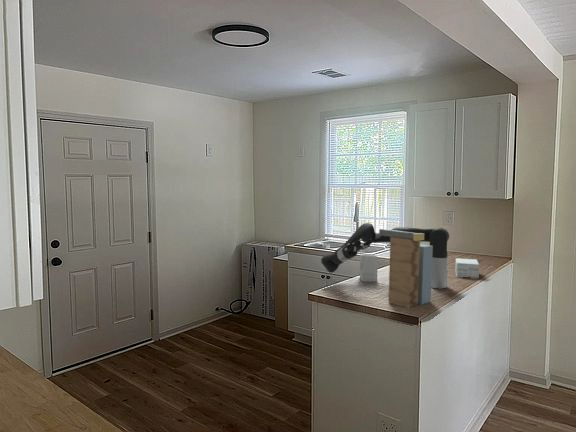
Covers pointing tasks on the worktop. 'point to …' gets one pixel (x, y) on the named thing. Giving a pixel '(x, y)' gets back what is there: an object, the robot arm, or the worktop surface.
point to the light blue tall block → (425, 274)
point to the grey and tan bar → (402, 234)
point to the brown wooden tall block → (404, 271)
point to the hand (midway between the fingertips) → (366, 241)
